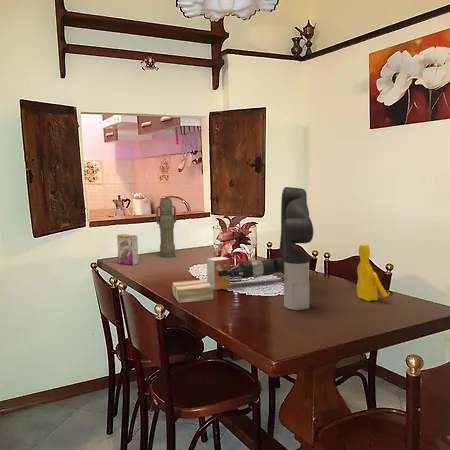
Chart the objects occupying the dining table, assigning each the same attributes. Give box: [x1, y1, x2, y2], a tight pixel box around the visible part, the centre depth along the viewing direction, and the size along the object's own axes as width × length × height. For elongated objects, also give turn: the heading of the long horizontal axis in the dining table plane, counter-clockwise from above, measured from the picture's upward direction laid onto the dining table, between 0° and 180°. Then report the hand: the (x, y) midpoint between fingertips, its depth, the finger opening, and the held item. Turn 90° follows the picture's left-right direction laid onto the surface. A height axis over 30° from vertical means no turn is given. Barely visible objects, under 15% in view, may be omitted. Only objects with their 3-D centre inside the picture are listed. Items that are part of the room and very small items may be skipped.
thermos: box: [155, 197, 177, 259], centre depth 275 cm, size 9×12×35 cm
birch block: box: [171, 278, 214, 304], centre depth 189 cm, size 14×14×5 cm
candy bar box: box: [116, 233, 139, 266], centre depth 257 cm, size 11×5×16 cm, turn 58°
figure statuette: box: [356, 243, 389, 302], centre depth 179 cm, size 18×8×22 cm, turn 23°
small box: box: [206, 256, 231, 291], centre depth 202 cm, size 8×6×13 cm
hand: (216, 271), depth 202 cm, fingers closed on small box, 8 cm apart
